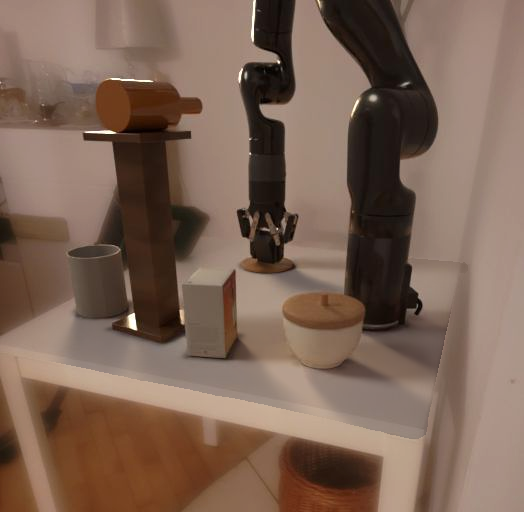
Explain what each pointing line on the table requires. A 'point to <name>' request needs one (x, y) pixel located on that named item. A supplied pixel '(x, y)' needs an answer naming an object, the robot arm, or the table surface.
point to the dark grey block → (264, 247)
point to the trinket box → (322, 327)
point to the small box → (210, 311)
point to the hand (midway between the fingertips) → (266, 259)
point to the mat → (266, 265)
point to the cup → (98, 280)
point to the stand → (147, 230)
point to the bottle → (142, 105)
